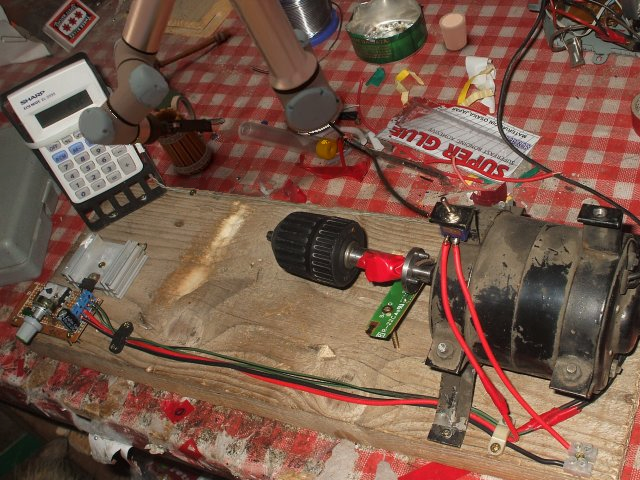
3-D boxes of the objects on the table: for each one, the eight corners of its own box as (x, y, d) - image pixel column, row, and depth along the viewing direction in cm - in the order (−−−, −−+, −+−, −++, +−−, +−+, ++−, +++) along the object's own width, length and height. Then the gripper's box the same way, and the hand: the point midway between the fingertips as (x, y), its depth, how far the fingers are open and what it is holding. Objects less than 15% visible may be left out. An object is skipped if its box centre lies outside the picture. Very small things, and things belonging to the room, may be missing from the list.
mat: (183, 95, 183) (182, 94, 182) (163, 113, 180) (162, 111, 180) (160, 84, 188) (159, 82, 188) (140, 100, 186) (139, 99, 186)
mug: (204, 176, 162) (174, 133, 149) (170, 176, 165) (137, 134, 152) (224, 132, 169) (197, 88, 157) (191, 133, 172) (161, 90, 160)
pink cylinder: (440, 41, 168) (435, 18, 163) (463, 31, 168) (459, 8, 162) (448, 55, 164) (444, 32, 159) (472, 45, 164) (469, 21, 158)
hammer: (133, 86, 187) (119, 55, 180) (229, 47, 199) (220, 16, 191) (142, 95, 184) (128, 64, 176) (239, 54, 195) (230, 23, 188)
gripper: (182, 103, 139) (228, 108, 159) (86, 117, 144) (142, 120, 165) (188, 138, 140) (233, 139, 160) (93, 150, 146) (147, 149, 166)
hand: (187, 129), depth 163 cm, fingers open, 13 cm apart
